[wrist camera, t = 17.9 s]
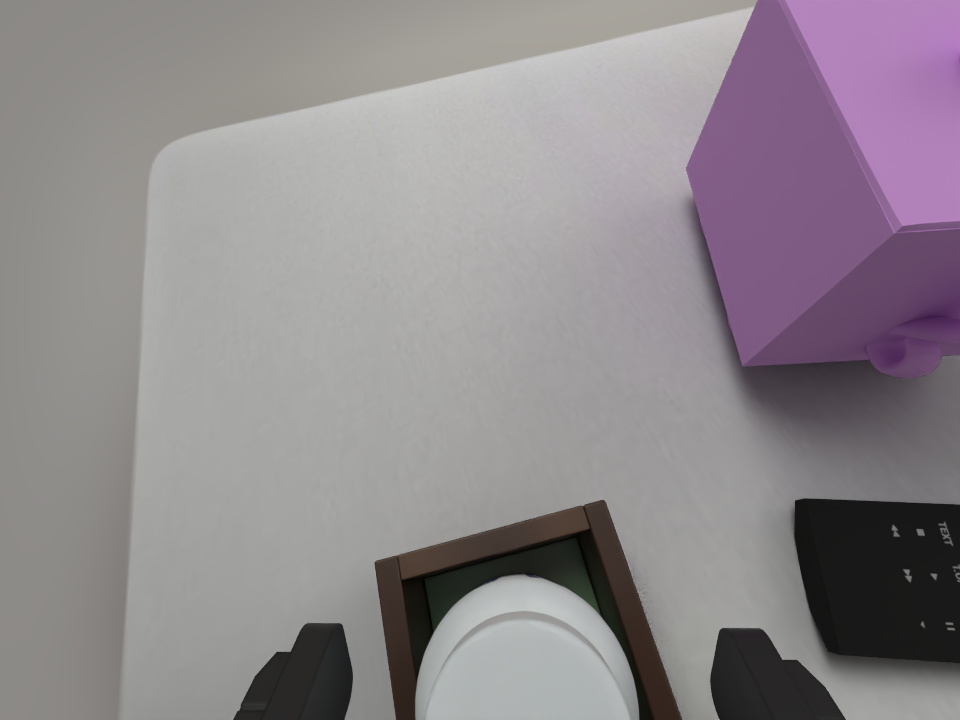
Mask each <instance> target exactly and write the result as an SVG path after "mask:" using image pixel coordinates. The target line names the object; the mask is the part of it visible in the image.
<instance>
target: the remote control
mask: <svg viewBox="0 0 960 720" xmlns="http://www.w3.org/2000/svg"><path fill="white" fill-rule="evenodd" d="M795 540H796V545H797V551H798V557H799V562H800V568H801V573H802V577H803V581H804V585H805V589H806V593H807V598H808V602H809V606H810V610H811V612H812V614H813V617H814V619H815V621H816V624H817V626H818V629H819V631H820V633H821V636H822V638H823V641H824V643H825V645H826V648H827V650H828V652H832V653H835V654H839V655H849V656H863V657H878V658H893V659H908V660H923V661H938V662H953V663H960V505H955V504H930V503H905V502H881V501H856V500H831V499H806V498H805V499H801V500H796V501H795Z"/></svg>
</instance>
